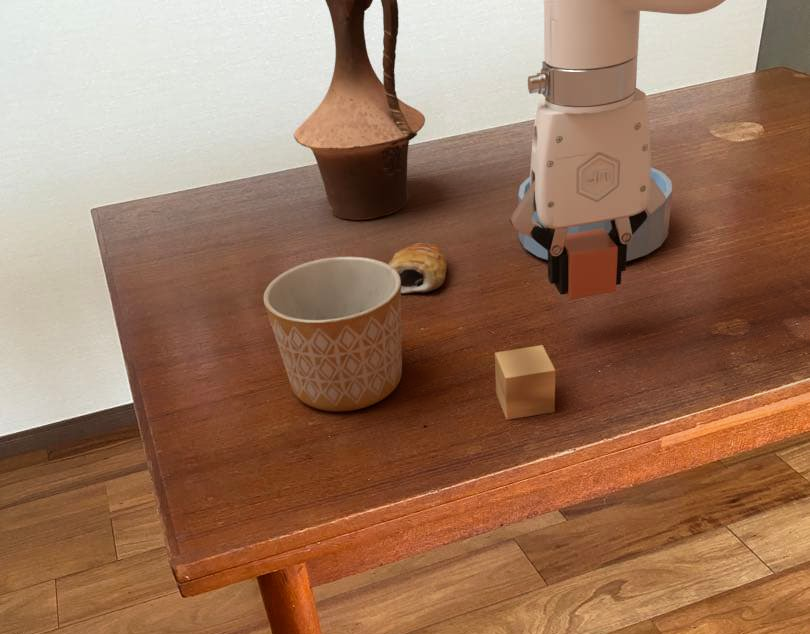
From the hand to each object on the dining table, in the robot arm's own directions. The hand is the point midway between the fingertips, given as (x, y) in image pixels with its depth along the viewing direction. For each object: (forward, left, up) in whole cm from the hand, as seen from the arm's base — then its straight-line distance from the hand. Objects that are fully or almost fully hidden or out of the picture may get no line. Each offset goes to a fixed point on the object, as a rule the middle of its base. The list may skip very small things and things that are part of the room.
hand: (586, 281), depth 86 cm
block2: (0, 0, 0) cm, 0 cm away
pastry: (+15, -18, -6) cm, 24 cm away
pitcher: (+18, -42, -6) cm, 46 cm away
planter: (+25, +2, -6) cm, 25 cm away
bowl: (-7, -22, -6) cm, 24 cm away
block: (+9, +10, -6) cm, 14 cm away
